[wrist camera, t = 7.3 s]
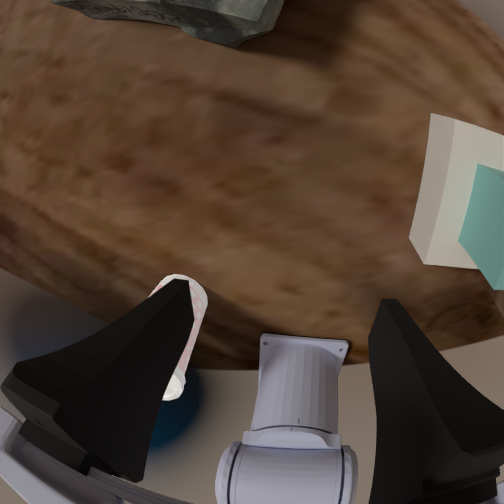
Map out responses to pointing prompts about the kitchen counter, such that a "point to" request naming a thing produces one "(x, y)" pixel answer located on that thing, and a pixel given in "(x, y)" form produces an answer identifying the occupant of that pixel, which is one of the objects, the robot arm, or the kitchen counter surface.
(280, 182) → the kitchen counter surface
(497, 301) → the walnut cube
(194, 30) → the stone block
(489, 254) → the teal cube
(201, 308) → the beverage cup
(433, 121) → the ceramic base
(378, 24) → the kitchen counter surface
